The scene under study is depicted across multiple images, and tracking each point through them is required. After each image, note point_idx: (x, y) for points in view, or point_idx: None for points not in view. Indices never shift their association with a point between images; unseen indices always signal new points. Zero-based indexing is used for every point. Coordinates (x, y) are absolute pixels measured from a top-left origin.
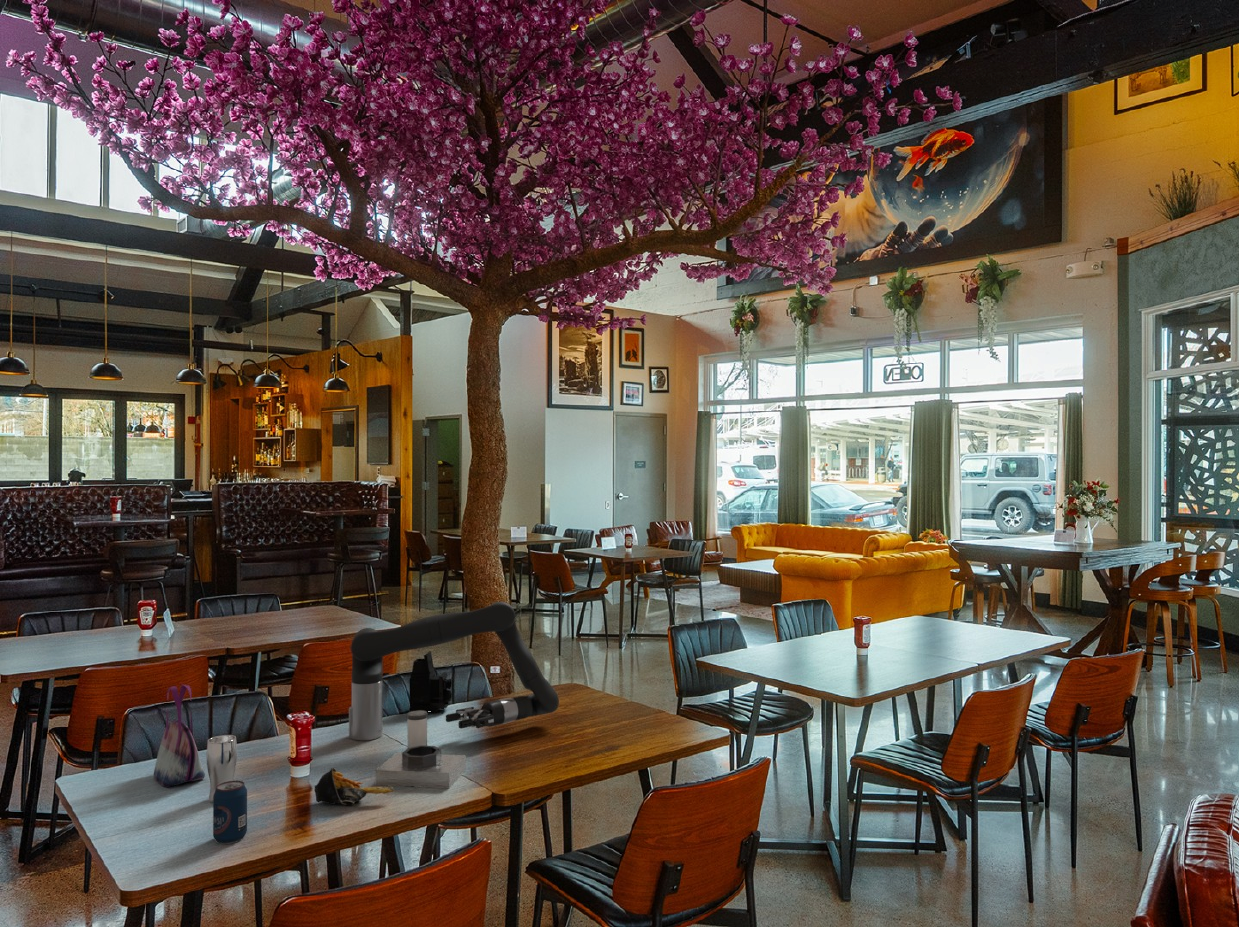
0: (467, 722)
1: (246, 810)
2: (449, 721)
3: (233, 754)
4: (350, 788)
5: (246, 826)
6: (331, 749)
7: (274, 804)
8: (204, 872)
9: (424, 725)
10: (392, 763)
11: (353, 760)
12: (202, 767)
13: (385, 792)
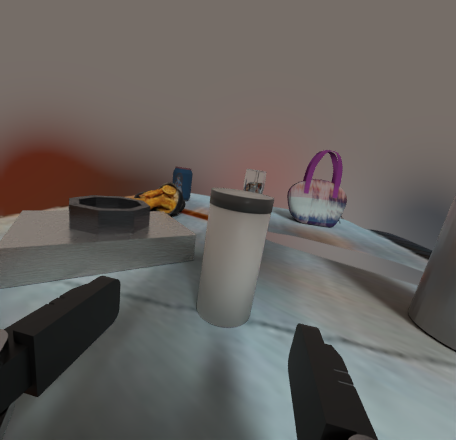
0: (44, 309)
1: (174, 183)
2: (290, 380)
3: (246, 180)
4: (141, 193)
5: None
6: (355, 271)
7: (207, 212)
8: None
9: (208, 224)
10: (159, 219)
11: (277, 259)
12: (297, 210)
13: None
